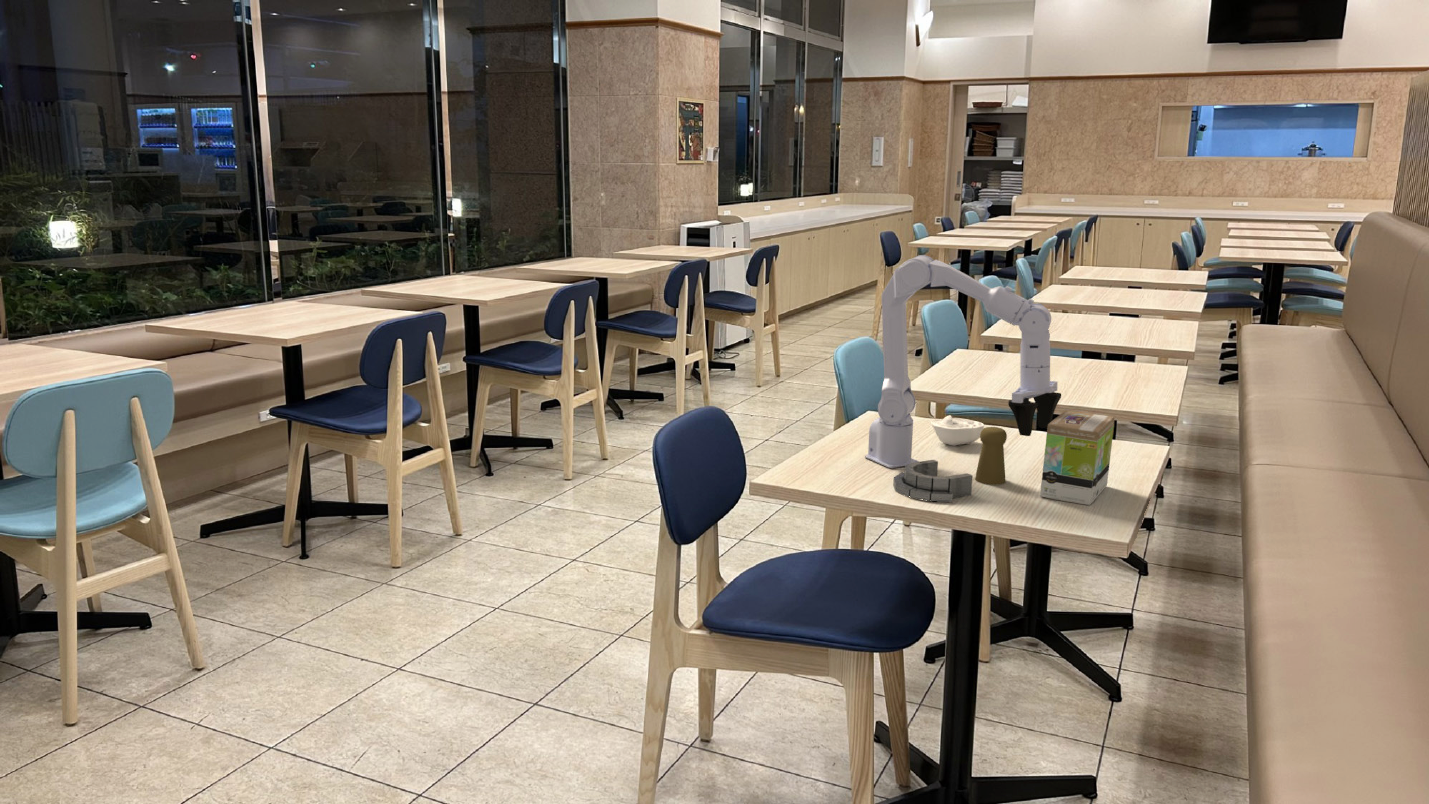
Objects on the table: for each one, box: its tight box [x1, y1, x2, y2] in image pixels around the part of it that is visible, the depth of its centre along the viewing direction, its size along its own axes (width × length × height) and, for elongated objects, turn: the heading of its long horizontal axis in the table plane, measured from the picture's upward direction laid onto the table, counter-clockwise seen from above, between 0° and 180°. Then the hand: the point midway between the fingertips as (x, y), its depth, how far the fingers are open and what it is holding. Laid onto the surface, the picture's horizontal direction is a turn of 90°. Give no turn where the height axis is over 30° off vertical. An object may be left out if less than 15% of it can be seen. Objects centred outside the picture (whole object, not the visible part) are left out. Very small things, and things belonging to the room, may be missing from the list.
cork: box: [974, 426, 1008, 486], centre depth 212 cm, size 6×6×11 cm
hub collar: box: [892, 459, 973, 503], centre depth 205 cm, size 16×12×4 cm
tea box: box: [1039, 410, 1115, 506], centre depth 204 cm, size 15×10×15 cm, turn 149°
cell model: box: [930, 415, 985, 446], centre depth 239 cm, size 10×12×7 cm
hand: (1034, 431), depth 213 cm, fingers open, 7 cm apart
